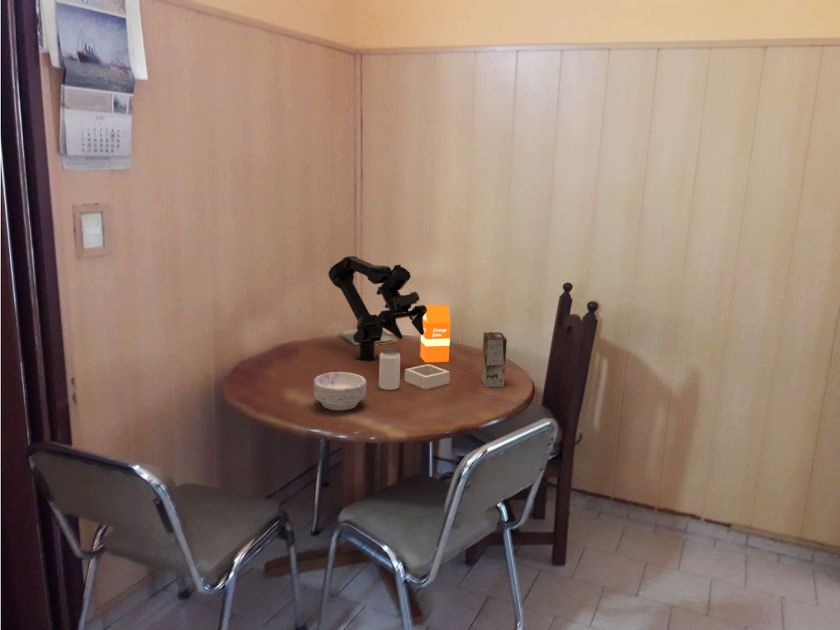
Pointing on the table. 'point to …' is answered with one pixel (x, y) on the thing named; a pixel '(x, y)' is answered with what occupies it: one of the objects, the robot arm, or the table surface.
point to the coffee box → (493, 359)
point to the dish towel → (384, 340)
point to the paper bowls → (339, 390)
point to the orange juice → (436, 334)
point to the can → (389, 369)
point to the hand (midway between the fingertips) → (412, 336)
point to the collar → (427, 376)
